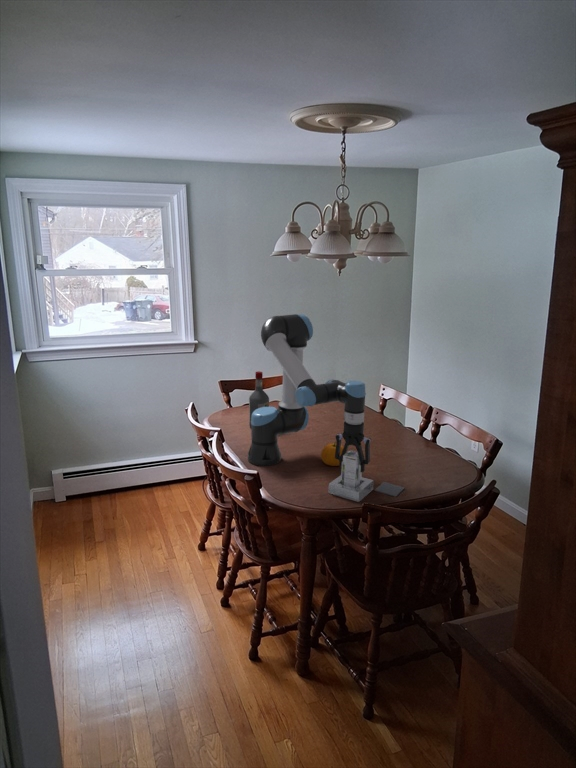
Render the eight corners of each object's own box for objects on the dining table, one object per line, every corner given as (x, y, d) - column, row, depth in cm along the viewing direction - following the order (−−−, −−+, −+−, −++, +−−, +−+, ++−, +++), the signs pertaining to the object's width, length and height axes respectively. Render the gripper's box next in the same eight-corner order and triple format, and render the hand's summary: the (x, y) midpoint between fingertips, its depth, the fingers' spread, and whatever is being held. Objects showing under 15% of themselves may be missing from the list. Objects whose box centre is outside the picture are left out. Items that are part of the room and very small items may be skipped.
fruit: (325, 456, 242) (326, 436, 239) (350, 460, 238) (351, 439, 235) (317, 465, 231) (317, 444, 229) (342, 470, 227) (343, 448, 225)
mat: (374, 491, 208) (374, 490, 208) (383, 482, 215) (383, 481, 215) (395, 496, 203) (395, 495, 203) (404, 488, 210) (404, 487, 210)
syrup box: (347, 483, 211) (348, 449, 207) (360, 486, 208) (362, 452, 204) (341, 489, 206) (342, 454, 202) (355, 492, 203) (356, 457, 200)
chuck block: (328, 493, 206) (328, 483, 205) (343, 481, 216) (344, 472, 215) (358, 502, 199) (359, 492, 198) (373, 489, 209) (373, 480, 208)
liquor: (247, 427, 279) (246, 372, 272) (257, 423, 286) (257, 369, 279) (261, 431, 274) (260, 375, 267) (271, 426, 282) (271, 371, 274)
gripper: (326, 421, 200) (325, 477, 206) (376, 428, 193) (372, 486, 199) (333, 415, 207) (331, 469, 213) (380, 422, 200) (377, 478, 206)
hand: (351, 477), depth 206 cm, fingers closed on syrup box, 6 cm apart
